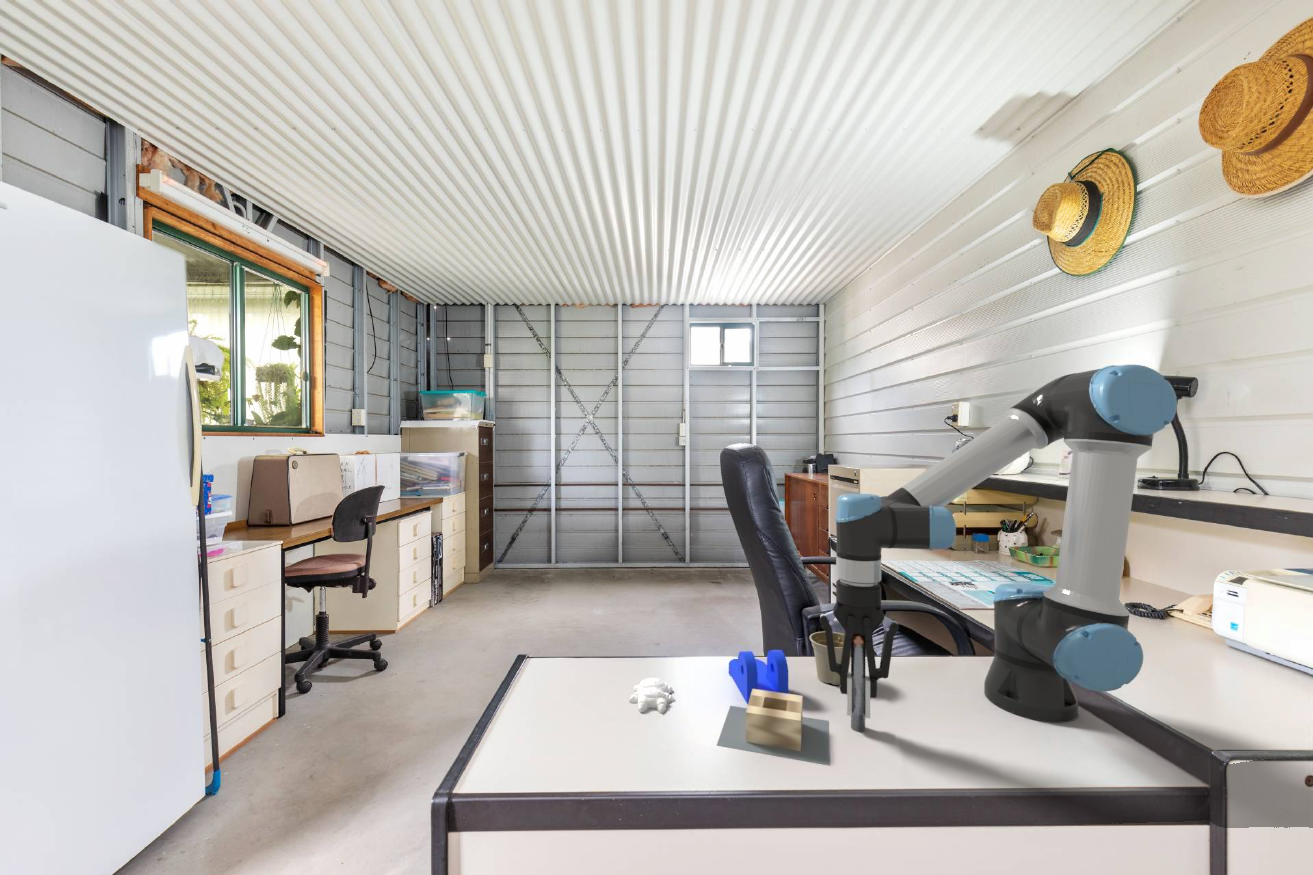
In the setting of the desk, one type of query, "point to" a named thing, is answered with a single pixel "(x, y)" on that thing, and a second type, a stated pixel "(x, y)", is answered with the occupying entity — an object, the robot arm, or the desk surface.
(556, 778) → the desk surface
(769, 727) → the block with square hole
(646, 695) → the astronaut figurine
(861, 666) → the copper-tipped rod
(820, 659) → the flower pot
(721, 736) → the mat
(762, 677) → the bracket
